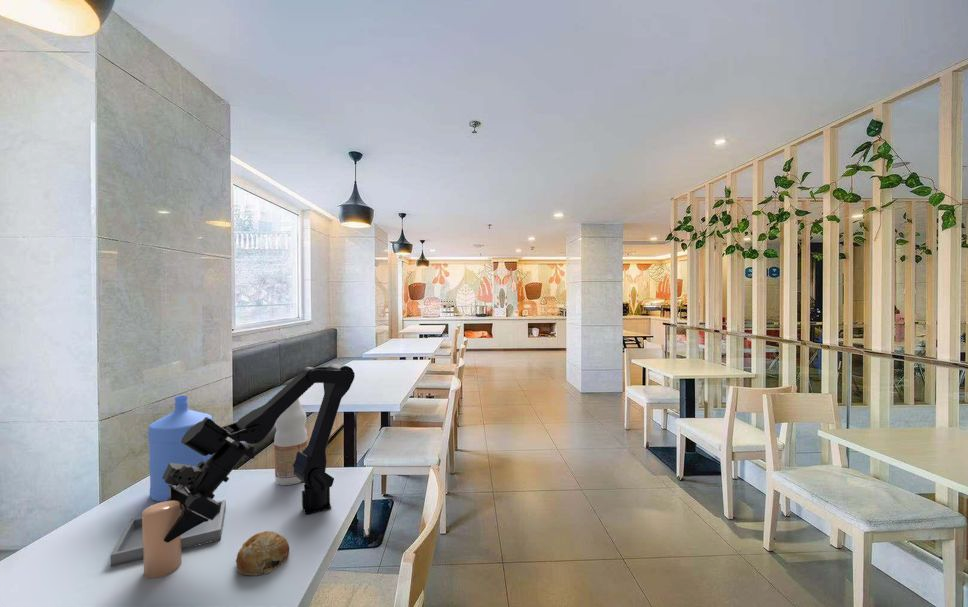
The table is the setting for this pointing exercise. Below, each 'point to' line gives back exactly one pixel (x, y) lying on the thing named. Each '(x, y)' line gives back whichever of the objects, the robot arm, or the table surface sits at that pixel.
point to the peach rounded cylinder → (160, 539)
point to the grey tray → (205, 532)
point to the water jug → (171, 445)
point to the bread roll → (262, 553)
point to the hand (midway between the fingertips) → (160, 532)
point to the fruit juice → (289, 442)
